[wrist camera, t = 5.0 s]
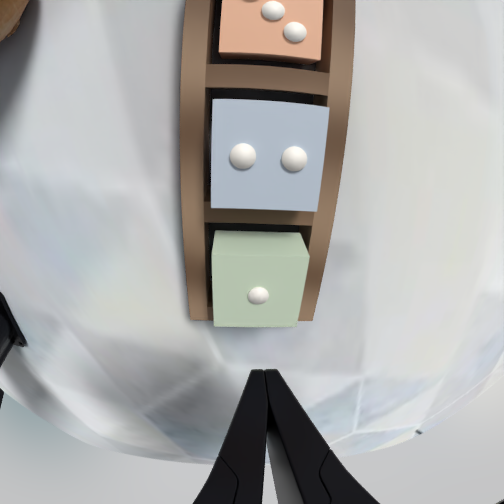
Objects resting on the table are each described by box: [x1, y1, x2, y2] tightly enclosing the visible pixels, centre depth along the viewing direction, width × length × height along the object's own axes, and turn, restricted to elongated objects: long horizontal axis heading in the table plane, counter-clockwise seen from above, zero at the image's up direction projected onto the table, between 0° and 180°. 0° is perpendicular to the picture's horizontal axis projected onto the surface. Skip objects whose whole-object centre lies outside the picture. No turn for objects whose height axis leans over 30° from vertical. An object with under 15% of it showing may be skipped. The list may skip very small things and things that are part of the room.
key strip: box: [180, 0, 355, 321], centre depth 13 cm, size 19×7×2 cm, turn 177°
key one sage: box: [212, 231, 310, 327], centre depth 14 cm, size 4×4×2 cm
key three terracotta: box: [219, 0, 323, 65], centre depth 9 cm, size 4×4×2 cm
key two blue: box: [211, 99, 329, 212], centre depth 11 cm, size 4×4×2 cm
